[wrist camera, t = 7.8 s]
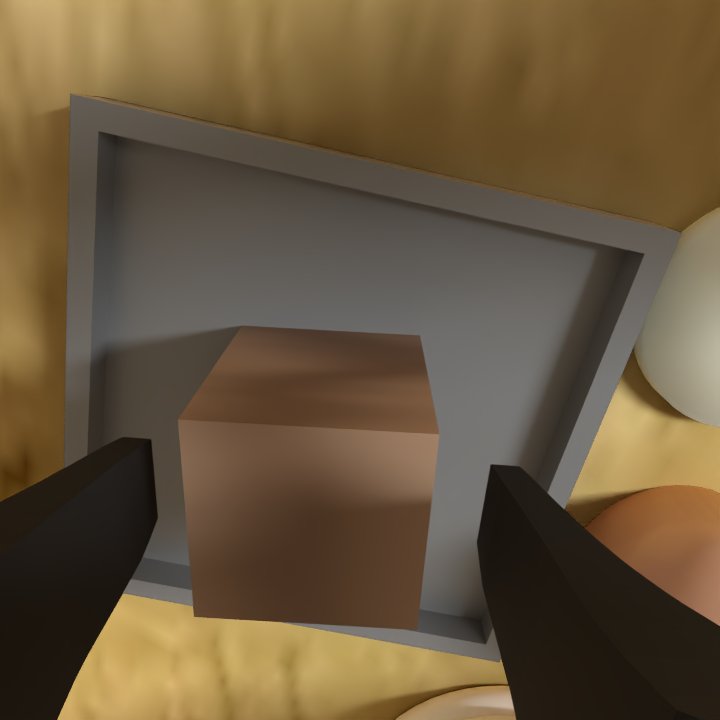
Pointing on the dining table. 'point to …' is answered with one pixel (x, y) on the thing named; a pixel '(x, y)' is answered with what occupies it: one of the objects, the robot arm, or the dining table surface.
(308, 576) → the block
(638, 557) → the peach capsule shape
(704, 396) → the white rounded disc
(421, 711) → the cream round disc
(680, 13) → the dining table surface
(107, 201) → the tray
